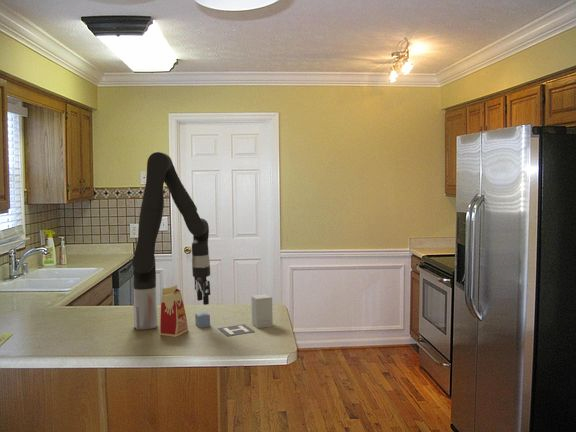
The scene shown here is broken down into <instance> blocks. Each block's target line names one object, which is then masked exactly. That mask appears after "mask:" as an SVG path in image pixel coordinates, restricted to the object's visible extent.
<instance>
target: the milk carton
mask: <svg viewBox="0 0 576 432" xmlns="http://www.w3.org/2000/svg"><path fill="white" fill-rule="evenodd" d="M161 290H162V292H161V298H160V299H161V301H160V318H159V319H160V320H159V321H160V322H159V330H160V331H159V336H165V337H166V336H167V337H168V336H169V337H174V338H177V337H178V336H180V335H182V334H184V333H186V332H188V331H189V325H188V319H187V314H186V309H185V304H184V301H183V296H182V293H181V290H180V289H179V288H178V285H174V286H169V287H164V288H161Z"/></svg>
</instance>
